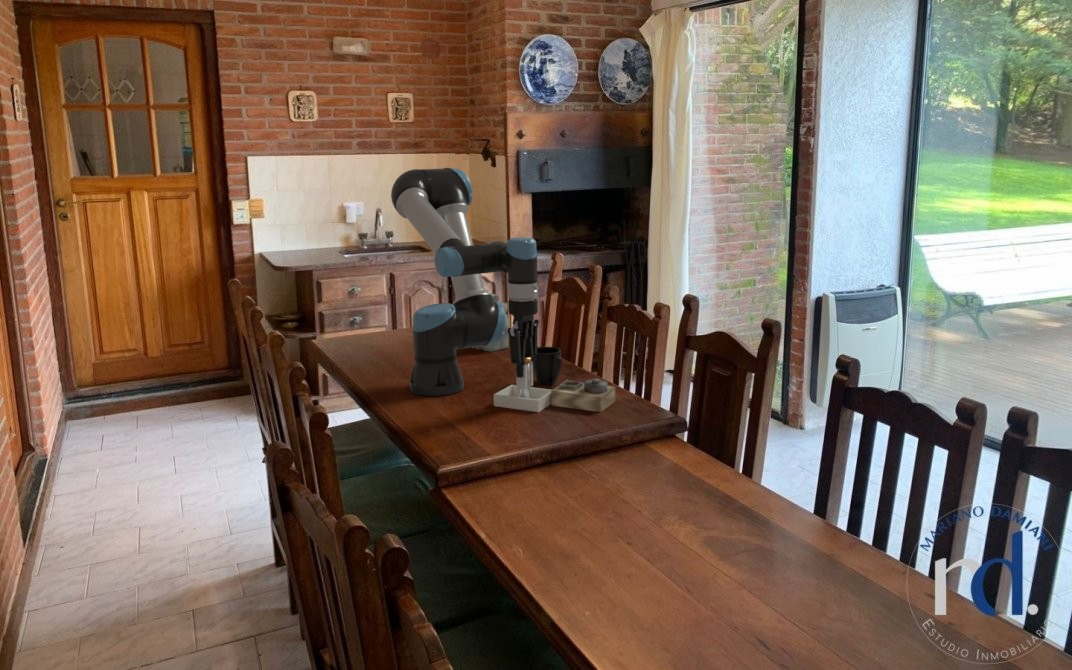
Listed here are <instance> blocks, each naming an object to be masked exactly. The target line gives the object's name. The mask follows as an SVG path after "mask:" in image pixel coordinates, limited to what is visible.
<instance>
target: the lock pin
mask: <svg viewBox="0 0 1072 670" xmlns="http://www.w3.org/2000/svg"><path fill="white" fill-rule="evenodd" d="M530 362H531V357H530V356H525V365H527V389H526V390H525V389H520V397H521V398H529V399H530V387H531V386H530Z"/></svg>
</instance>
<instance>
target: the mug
mask: <svg viewBox="0 0 1072 670" xmlns="http://www.w3.org/2000/svg"><path fill="white" fill-rule="evenodd" d="M534 358H537V359H536V361H532V362H533V374H534V375H535V378H536V379H535V380H536V383H537V384H539V385H543V386H550V385H554V384H556V383H557V382H558V378H559V376H560V372H561V370H562V369H561V368H562V365H563V364H562V362H563V360H562V350H561V348H559V347H555V346H539V347H538V346H537V356H536V357H534Z"/></svg>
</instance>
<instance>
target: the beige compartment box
mask: <svg viewBox="0 0 1072 670" xmlns="http://www.w3.org/2000/svg"><path fill="white" fill-rule="evenodd" d="M550 390H551V404H550V405H551V406H553V407H560V408H568V409H576V410H584V411H591V412H598V413H602V412H603V411H604V410H605V409H607V408H609V407H610V406H611V405H613V404H614V403H615V402H616V386H612V385H608V381H606V380H603V379H599V378H592V379H588V380H586V381H584V382H583V381H578V380H577V381H576V380H568V379H566V380H564V381H563V382H561V383H560V384H558V386H556V387H555V388H553V389H550Z"/></svg>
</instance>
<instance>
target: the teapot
mask: <svg viewBox="0 0 1072 670" xmlns="http://www.w3.org/2000/svg"><path fill="white" fill-rule="evenodd" d="M489 293H490V294H491V295H492V298H493V302H497V303H500V304H501V306H502V307H503V308H504V311H505V315H506V327H505V332H504V335H503V337H502V338H501V340H500V341H499V342H497V343H493V344H489V345H487V346H476V347H472V349H473V348H476V349H475V350H482V349H483V350H482V351H483V352H487V351H488V352H496V351H499V350H505V349H507V348H509V334H508V328H510V319H509V316H508V315H507V311H508V309H509V306H508V303H507V302H505V301H500V296H499V295H497V294H495V293H491V292H489Z"/></svg>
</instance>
